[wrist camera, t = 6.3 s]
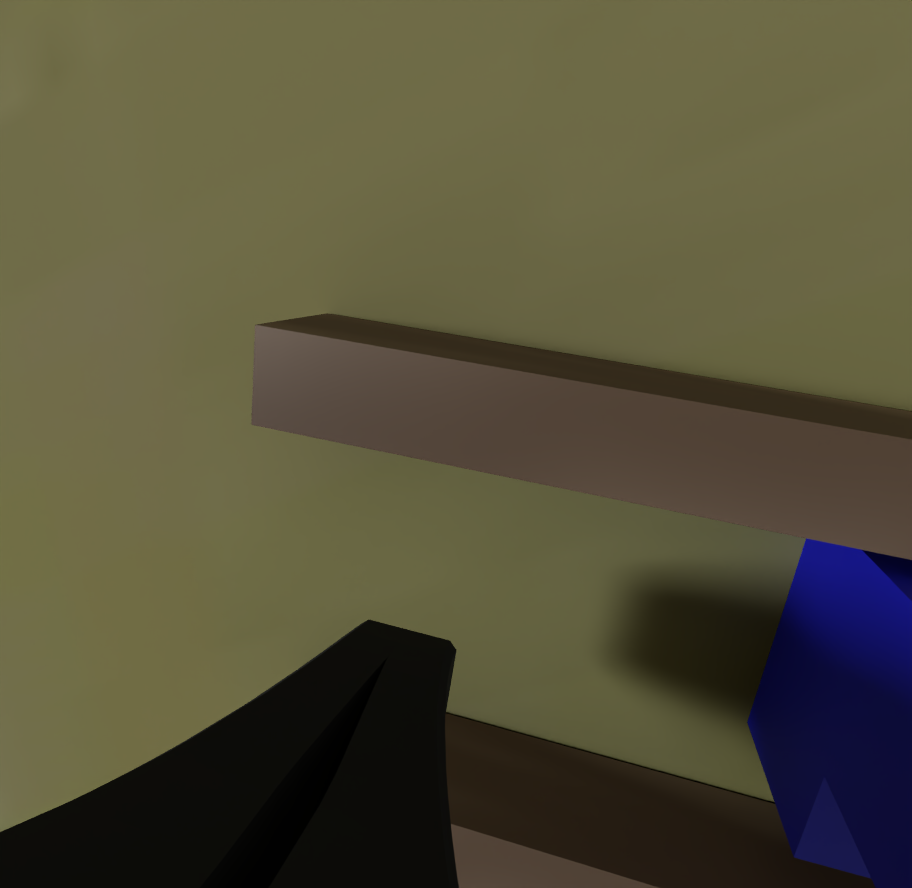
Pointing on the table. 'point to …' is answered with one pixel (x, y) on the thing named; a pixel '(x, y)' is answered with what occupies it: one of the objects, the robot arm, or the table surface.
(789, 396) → the cable track
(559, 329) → the table surface
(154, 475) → the table surface
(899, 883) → the cable clip
